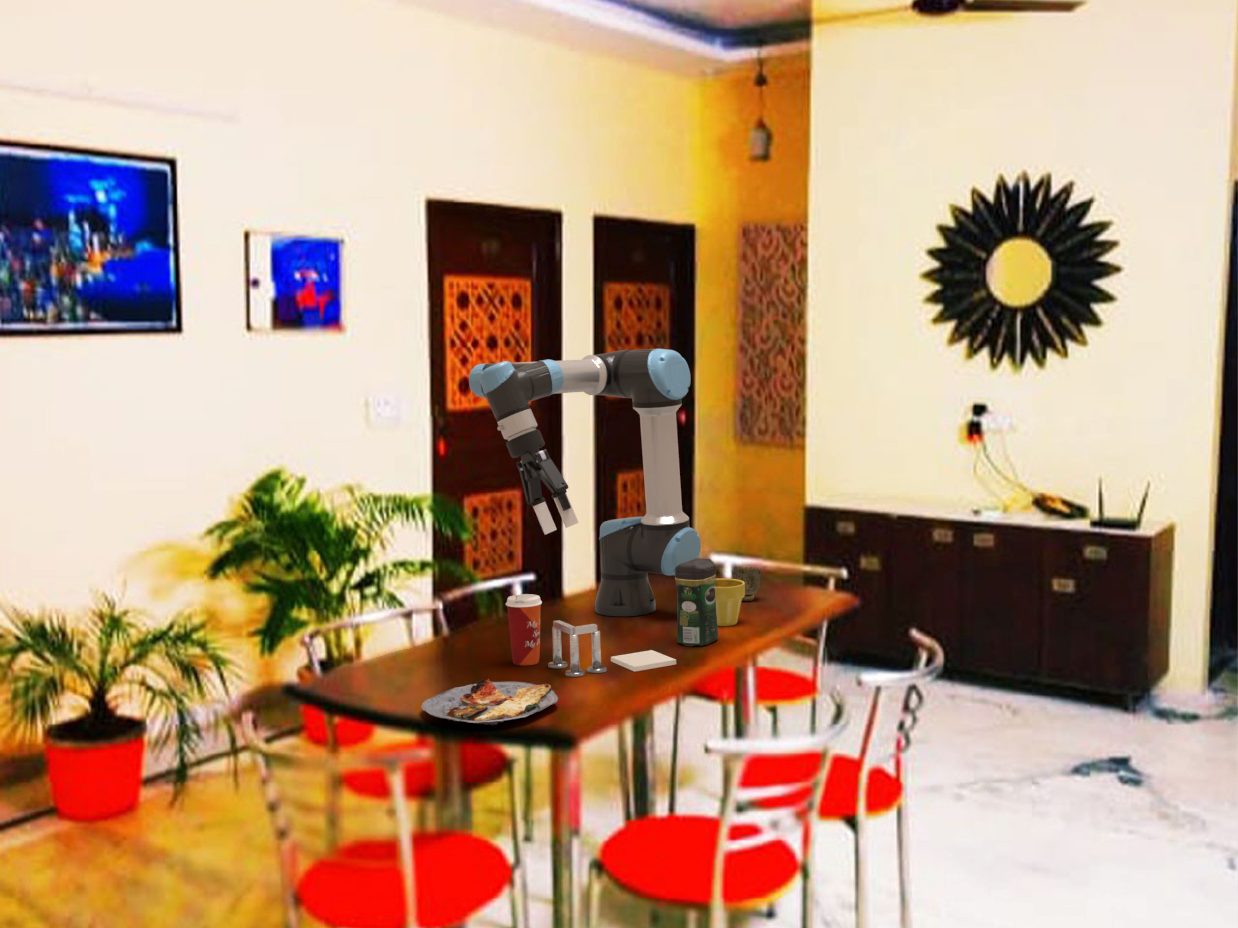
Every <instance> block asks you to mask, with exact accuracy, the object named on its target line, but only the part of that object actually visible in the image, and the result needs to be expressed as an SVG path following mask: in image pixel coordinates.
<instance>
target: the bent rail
mask: <svg viewBox="0 0 1238 928" xmlns="http://www.w3.org/2000/svg"><path fill="white" fill-rule="evenodd" d="M552 625H553V626H551V632H552V633H551V634H552V635H551V637H552V638H551V639H552V660H553V661H550V662H548V663H547V667H548V668H549V669H553V670H555V669H556V670H558V669H560V670H561V669H565V668H567V667H568V662H567V661H563V656H562V653H563V652H562V632H563V633H565V634H568V635H569V657H570V658H569V659H570V662H569V663H570V664H569V665H570V669H567V670H565V672H564V673H565V677H567V678H568V677H569V678H579V677H580V678H581V677H584V676H585V675H586V672H587V673H590V674H602V673H606V672H607V666H605V665H602V656H601V655H602V654H601V653H602V651H601V649H602V647H601V630H598V624H596V623H590V624H583V625H578V626H575V625H572V624H570V623H568V622H566V621H562V620H560V619H558V620H553V621H552ZM584 634H586V635H587V634H591V639H590V640H591V665H590V666H587V667H586V671H585V670H584V669H580V653H579V652H580V646H579V645H580V644H579V643H580V642H579V635H584Z"/></svg>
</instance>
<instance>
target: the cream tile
mask: <svg viewBox="0 0 1238 928" xmlns="http://www.w3.org/2000/svg"><path fill="white" fill-rule="evenodd" d="M610 662H611V663H614V664H616V665H617V666H620V667H622V668H625V669H627V670H630V671H632V672H640V671H647V670H651V669H657V668H663V667H668V666H674V665H677V659H675V658H673V657H670V656H668V655H665V654H662V653H661V652H658V651H655V650H652V649H649V650H644V651H639V652H632V653H626V654H620V655H614V656H610Z"/></svg>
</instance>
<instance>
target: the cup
mask: <svg viewBox="0 0 1238 928" xmlns="http://www.w3.org/2000/svg"><path fill="white" fill-rule="evenodd" d="M761 573H762V569H761V568H760V569H759V568H755V567H753V568H752V567H750V568H749V569H748V568H747V567H745V568H744V567H743V568H742V567H741V566H739V567H738V568H737V567H736V568H734V570H731V576H732V577H731V578H732V579H737V580H741V581H743V582H744V583H745V596H744V597H743V598H742V601H744V602H752V601H753V600H755V599H754V598H755V595H754V594H757V593H758V591H759V588H760V584H761ZM742 601H741V602H742Z"/></svg>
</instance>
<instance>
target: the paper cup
mask: <svg viewBox="0 0 1238 928" xmlns="http://www.w3.org/2000/svg"><path fill="white" fill-rule="evenodd" d="M542 603H543V601H542V600H541V597H540V595H537V594H532V593H531V594H529V593H523V594H521V593H520V594H515V595H514V594H513V595H510V596H508V597H507V599H506V602H505V606H506V607H507V609H506V610H507V617H508V627H509V628H508V629H509V638H510V649H511V657H512V663H513V665H516V666H523V667H524V666H527V667H528V666H533V665H537V664H539V663H540V655H541V654H540V653H541V652H540V650H541V649H540V648H541V612H542V611H541V609H542Z"/></svg>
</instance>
